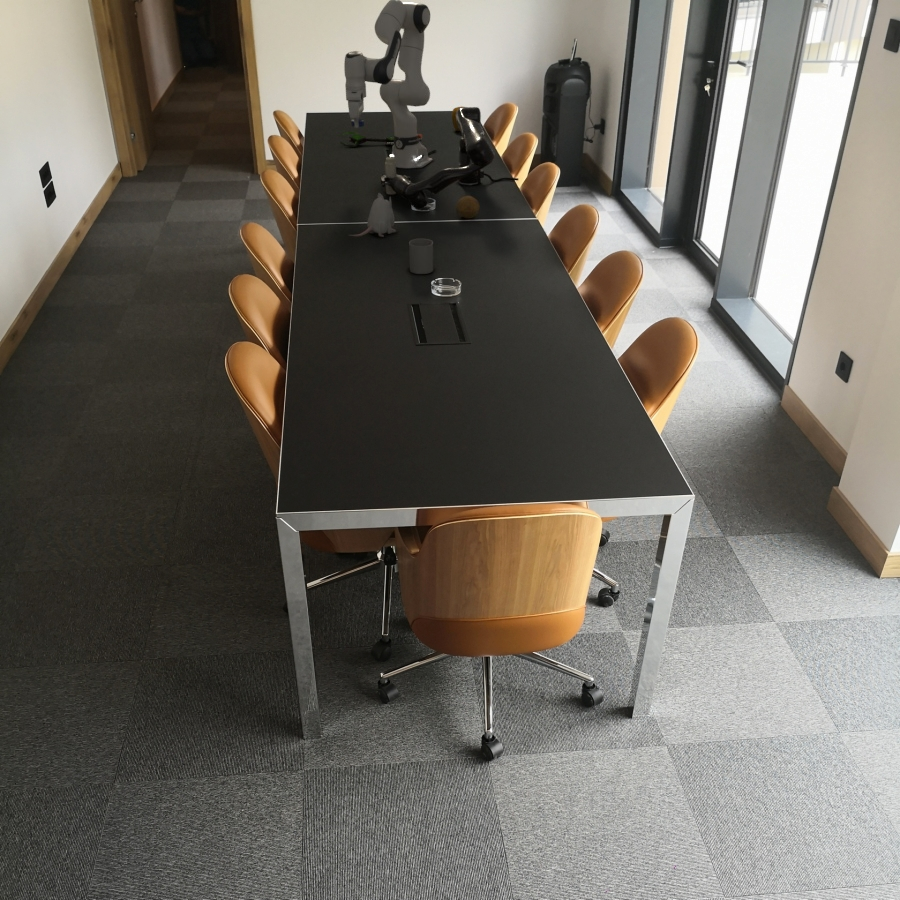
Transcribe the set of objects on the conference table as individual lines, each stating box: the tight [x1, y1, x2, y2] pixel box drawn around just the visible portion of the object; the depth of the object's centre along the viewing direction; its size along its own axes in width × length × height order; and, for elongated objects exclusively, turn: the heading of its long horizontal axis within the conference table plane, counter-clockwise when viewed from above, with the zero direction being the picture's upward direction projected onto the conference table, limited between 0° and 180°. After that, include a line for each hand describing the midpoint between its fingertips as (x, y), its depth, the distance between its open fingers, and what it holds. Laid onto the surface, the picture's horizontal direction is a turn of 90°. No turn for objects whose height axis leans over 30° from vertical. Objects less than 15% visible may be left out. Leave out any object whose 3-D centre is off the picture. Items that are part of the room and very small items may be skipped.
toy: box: [349, 192, 397, 238], centre depth 334 cm, size 9×24×15 cm, turn 137°
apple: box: [451, 105, 464, 132], centre depth 487 cm, size 11×11×13 cm
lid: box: [351, 118, 365, 128], centre depth 385 cm, size 5×6×2 cm
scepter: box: [339, 131, 394, 148], centre depth 461 cm, size 6×13×30 cm
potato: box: [456, 195, 481, 219], centre depth 357 cm, size 10×14×8 cm
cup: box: [408, 237, 434, 275], centre depth 305 cm, size 8×8×10 cm
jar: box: [384, 156, 397, 195], centre depth 384 cm, size 5×5×15 cm
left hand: (357, 125), depth 385 cm, fingers closed on lid, 5 cm apart
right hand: (388, 176), depth 387 cm, fingers closed on jar, 4 cm apart
